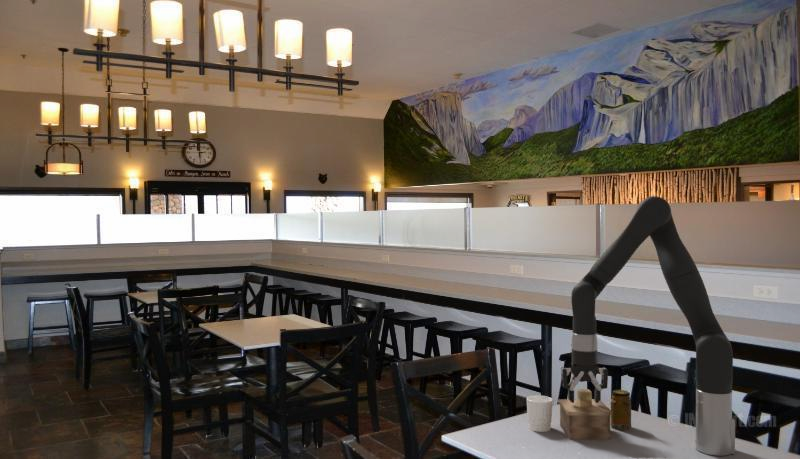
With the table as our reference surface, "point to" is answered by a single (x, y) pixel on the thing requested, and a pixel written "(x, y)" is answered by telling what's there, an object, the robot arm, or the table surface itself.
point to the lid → (584, 405)
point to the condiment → (621, 410)
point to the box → (585, 426)
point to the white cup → (539, 413)
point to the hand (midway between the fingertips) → (584, 402)
